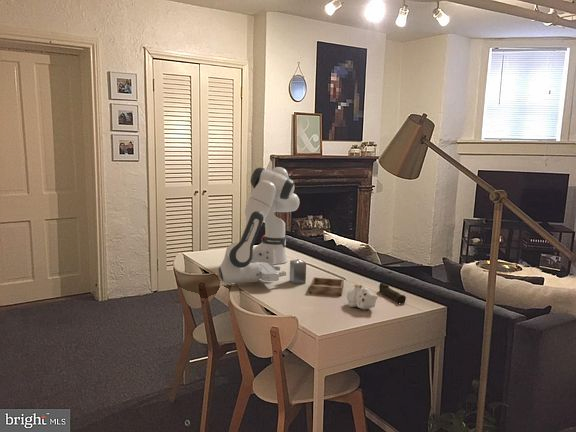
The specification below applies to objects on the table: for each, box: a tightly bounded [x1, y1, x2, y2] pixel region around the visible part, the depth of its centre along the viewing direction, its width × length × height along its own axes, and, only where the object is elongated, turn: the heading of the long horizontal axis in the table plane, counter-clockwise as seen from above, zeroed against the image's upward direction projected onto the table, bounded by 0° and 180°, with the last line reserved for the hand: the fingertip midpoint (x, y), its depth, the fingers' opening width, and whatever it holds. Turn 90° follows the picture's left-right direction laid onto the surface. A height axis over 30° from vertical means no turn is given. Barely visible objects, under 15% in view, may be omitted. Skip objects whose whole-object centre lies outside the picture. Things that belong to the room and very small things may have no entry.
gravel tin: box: [289, 258, 307, 285], centre depth 228 cm, size 6×6×11 cm
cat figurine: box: [346, 284, 379, 310], centre depth 194 cm, size 10×8×15 cm
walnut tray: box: [309, 277, 345, 297], centre depth 217 cm, size 14×14×4 cm
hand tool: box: [378, 282, 407, 304], centre depth 210 cm, size 19×4×5 cm, turn 16°
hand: (282, 270), depth 226 cm, fingers open, 8 cm apart
